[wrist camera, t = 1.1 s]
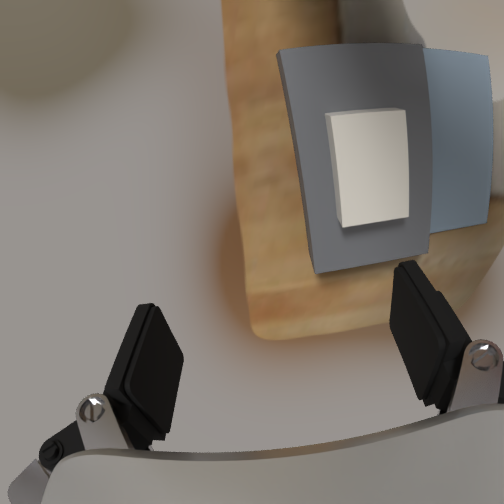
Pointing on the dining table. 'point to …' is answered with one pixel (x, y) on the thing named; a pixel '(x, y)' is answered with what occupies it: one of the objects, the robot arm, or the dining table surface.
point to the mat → (460, 137)
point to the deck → (318, 151)
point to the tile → (369, 164)
